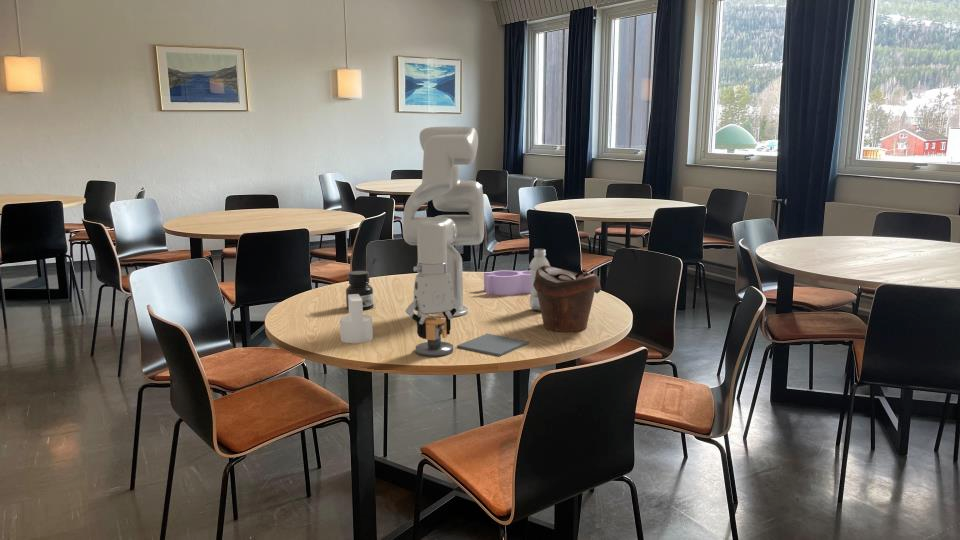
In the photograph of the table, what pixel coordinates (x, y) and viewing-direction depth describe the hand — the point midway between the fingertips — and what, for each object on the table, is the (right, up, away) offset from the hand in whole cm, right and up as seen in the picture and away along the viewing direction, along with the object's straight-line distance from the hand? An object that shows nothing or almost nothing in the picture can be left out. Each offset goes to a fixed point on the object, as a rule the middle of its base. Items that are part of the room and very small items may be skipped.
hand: (434, 334), depth 187 cm
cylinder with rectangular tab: (-23, -3, +13) cm, 27 cm away
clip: (+24, +9, +72) cm, 77 cm away
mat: (+16, -3, +5) cm, 17 cm away
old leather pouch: (+38, 0, +24) cm, 45 cm away
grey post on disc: (0, -4, +1) cm, 4 cm away
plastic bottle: (+32, +4, +44) cm, 54 cm away
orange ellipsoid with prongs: (0, 0, 0) cm, 0 cm away
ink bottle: (-28, +4, +50) cm, 57 cm away
